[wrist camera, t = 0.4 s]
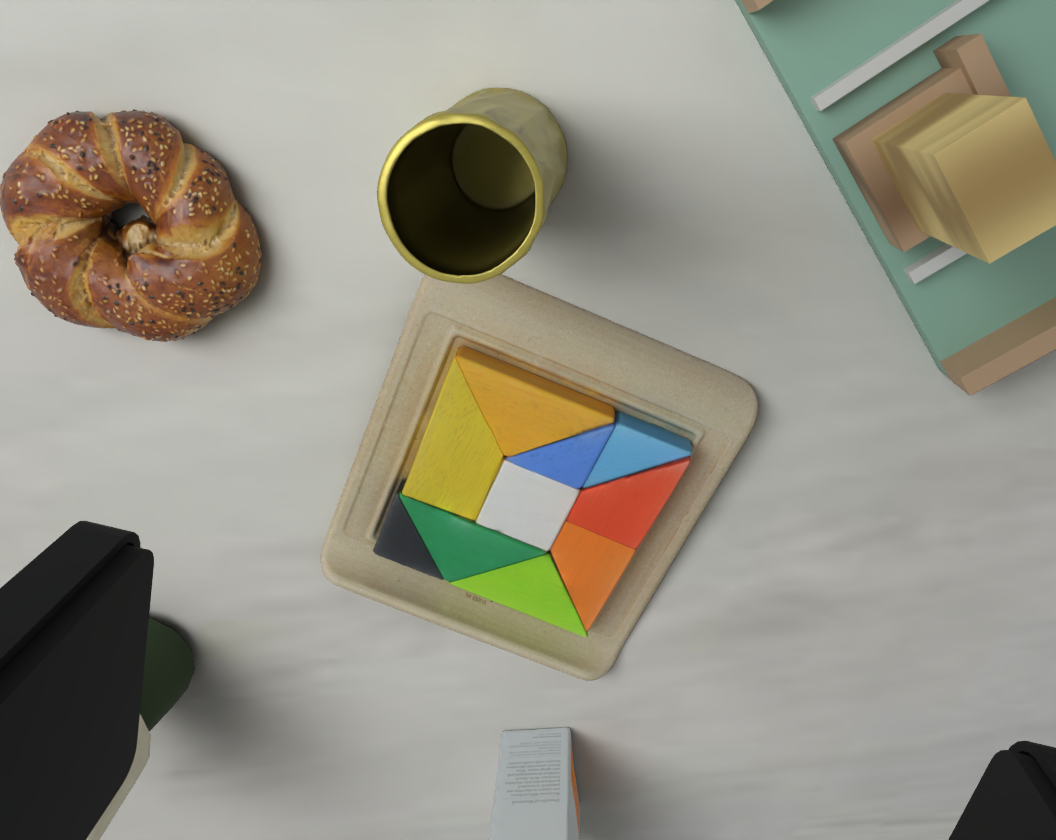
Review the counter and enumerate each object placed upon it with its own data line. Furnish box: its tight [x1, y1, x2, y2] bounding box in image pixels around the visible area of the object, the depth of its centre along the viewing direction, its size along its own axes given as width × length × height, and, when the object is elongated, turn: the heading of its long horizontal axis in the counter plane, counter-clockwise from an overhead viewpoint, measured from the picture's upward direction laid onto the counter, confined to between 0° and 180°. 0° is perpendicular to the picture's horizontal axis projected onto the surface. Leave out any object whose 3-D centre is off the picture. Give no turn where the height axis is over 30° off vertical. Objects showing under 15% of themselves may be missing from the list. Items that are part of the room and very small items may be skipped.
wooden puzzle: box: [321, 274, 758, 681], centre depth 45 cm, size 18×19×4 cm
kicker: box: [833, 34, 1056, 264], centre depth 34 cm, size 7×6×9 cm
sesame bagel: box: [0, 110, 262, 342], centre depth 41 cm, size 12×11×4 cm
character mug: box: [86, 618, 195, 840], centre depth 46 cm, size 11×7×13 cm, turn 2°
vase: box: [377, 88, 567, 284], centre depth 34 cm, size 6×6×14 cm
